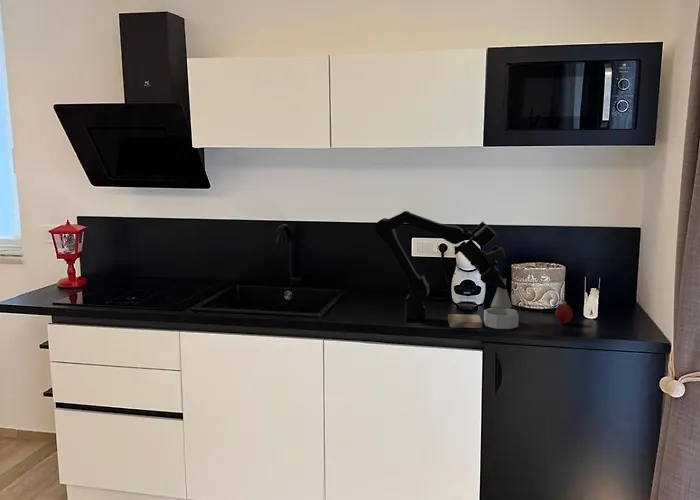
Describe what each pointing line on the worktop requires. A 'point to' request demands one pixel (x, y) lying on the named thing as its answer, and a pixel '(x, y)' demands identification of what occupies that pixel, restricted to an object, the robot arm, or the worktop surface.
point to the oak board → (464, 321)
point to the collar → (501, 318)
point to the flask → (501, 298)
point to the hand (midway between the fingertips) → (505, 287)
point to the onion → (564, 313)
